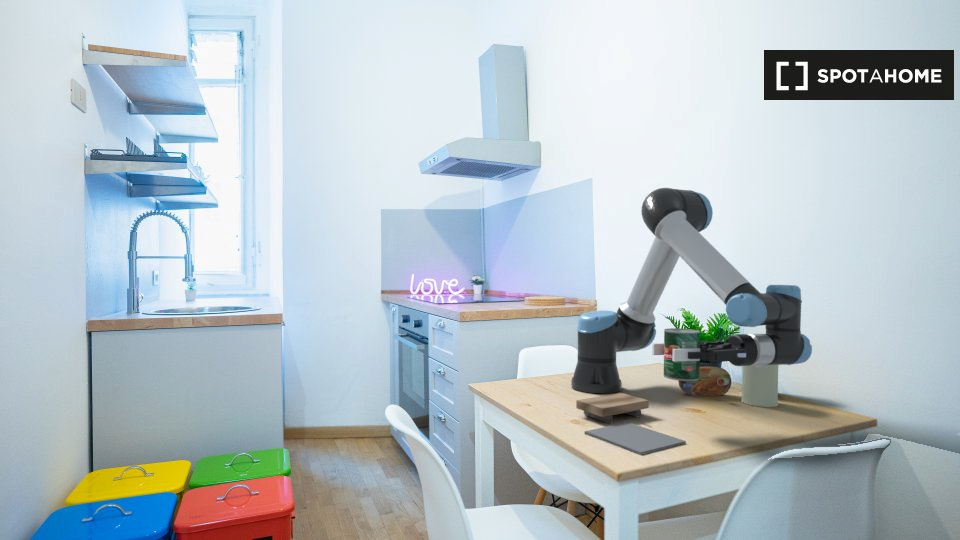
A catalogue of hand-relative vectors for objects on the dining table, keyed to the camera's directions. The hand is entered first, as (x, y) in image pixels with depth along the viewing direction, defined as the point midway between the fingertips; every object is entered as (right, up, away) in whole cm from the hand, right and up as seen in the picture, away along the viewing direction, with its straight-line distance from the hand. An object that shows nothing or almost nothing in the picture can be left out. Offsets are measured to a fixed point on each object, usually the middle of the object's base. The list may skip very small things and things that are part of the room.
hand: (663, 352), depth 127 cm
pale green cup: (+36, -18, +26) cm, 48 cm away
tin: (+24, -18, +35) cm, 46 cm away
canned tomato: (+5, -6, +1) cm, 8 cm away
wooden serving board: (-9, -18, +11) cm, 23 cm away
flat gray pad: (-9, -18, -7) cm, 21 cm away
